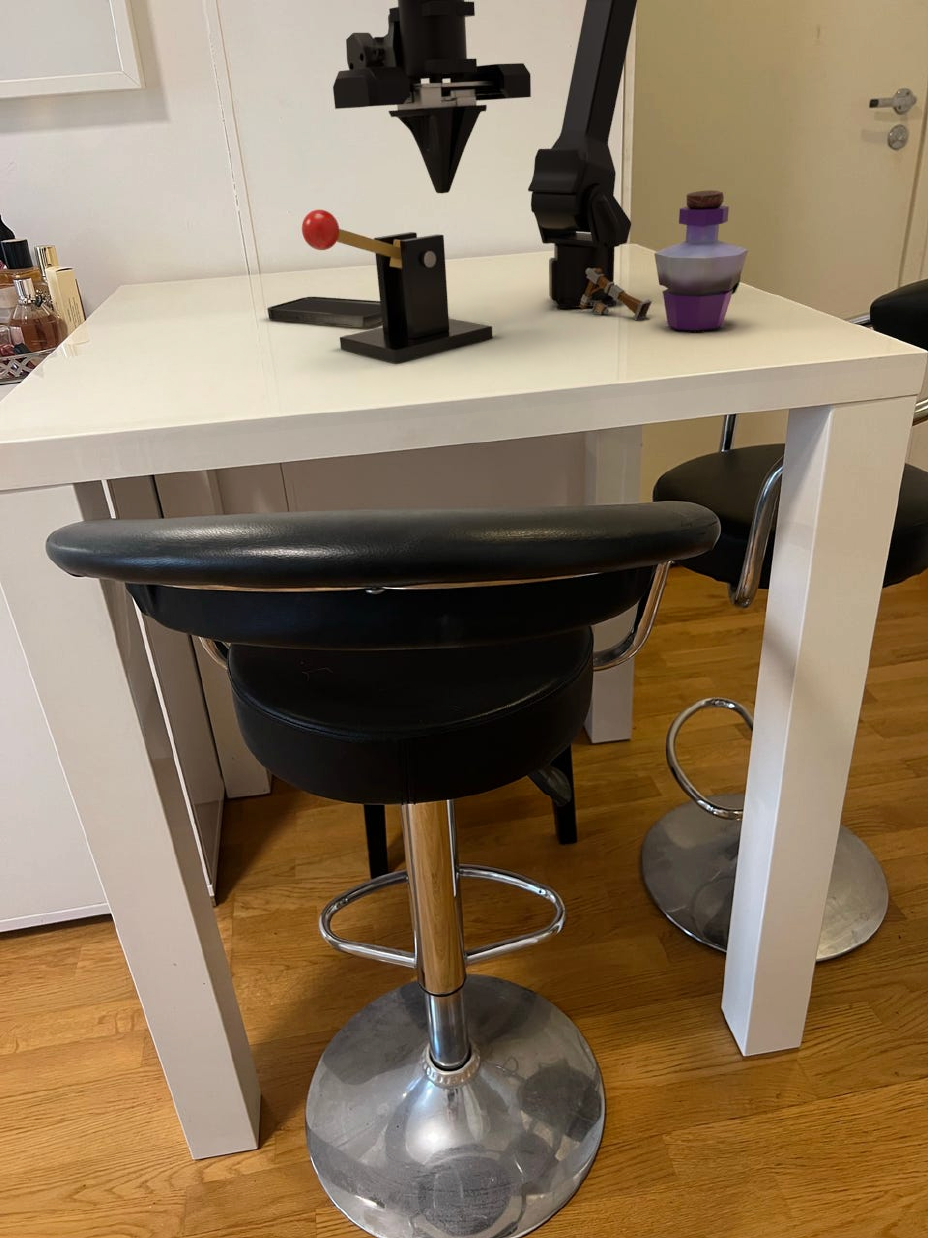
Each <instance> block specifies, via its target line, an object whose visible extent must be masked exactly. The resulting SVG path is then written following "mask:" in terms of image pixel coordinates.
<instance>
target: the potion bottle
mask: <svg viewBox="0 0 928 1238" xmlns="http://www.w3.org/2000/svg"><path fill="white" fill-rule="evenodd" d="M724 195H725V194H724V192H723V191H720V190H712V189H710V190H699V191H693V192H689V193H687V194H686V206H684V207H681V208H679V213H678V224H680V225H684V226H686V232H685V241H682V242H678V243H676V244H674V245H671V246H667V247H665V248H662V249H660V250H658V251H656V252H654V259H655V267H656V271H657V272H656V274H657V279H658V285H659V286H662V287H664V288H666V289H664V290H662V296H663V302H664V308H665V315H666V322H667V326H666V328H667V329H669V330H671V331H674V332H679V333H692V334H693V333H695V334H700V333H709V332H717V331H720V330H721V329H722V328H724V327H725V326H726V325H725V324H724V322H725V318H726V315H727V312H728V308H729V305H730V302H731V298H732V296H733V295H734V294H736V293H737V291H738V288H739V286H740V284H741V279H742V271H743V269H744V265H745V262H746V258H747V255H748V252H749V249H748V248H744V247H741V246H738V245H735V244H732V243H729V242H725V241H722V240H719V232H720V231H719V230H720V225H723V224H725V223H727V222H728V221H729V210H730V206H728V205H723V203H724V199H725V197H724Z"/></svg>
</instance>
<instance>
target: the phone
mask: <svg viewBox="0 0 928 1238" xmlns="http://www.w3.org/2000/svg"><path fill="white" fill-rule="evenodd" d="M266 310H267V315H268V319H269V320H271V321H272V320H273V321H285V322H293V323H294V322H295V323H304V324H305V323H306V324H317V325H318V324H319V325H327V326H339V327H351V328H371V327H375V326H377V325H380V324H381V325H382V316H381V306H380V300H368V299H353V298H341V297H340V298H339V297H338V298H337V297H325V296H305V297H300V298H296V299H293V300H290V301H287V302H283V303H278V304H276V305H272V306H269V307H267V308H266Z"/></svg>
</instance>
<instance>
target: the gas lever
mask: <svg viewBox="0 0 928 1238" xmlns="http://www.w3.org/2000/svg"><path fill="white" fill-rule="evenodd" d="M301 234H302V237H303V239H304V241H305V242H306V244H307V245H308V246H309V247H311V248H312V249H314V250H318V251H326V250H330V249H331V248H333V247H334V246H335V245H336V243H338V244H339V243H340V244H343V245H345V246H349V247H352V248H357V249H360V250H363V251H367V252H370V253H373V254H375V253H376V254H380V255H383V256H386V257H390V258H391V260H390V267H394V268H397V269H401V270H402V261H401V249H400V240H394V243H393V245H391V244H387V243H384V242H381V241H378V240H374V238H370V237H367V236H365V235H361V234H358V233H354V232H351V231H348V230H345V229H342V228H340V225H339V222H338V220H337V218H336V217H335V216H334V215H333V214H332V213H331V212H329V211H327V210H324V209H314V210H312V211H310V212H309V213H307V214H306V215H305V217H304V219H303V220H302V222H301Z"/></svg>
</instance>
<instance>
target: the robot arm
mask: <svg viewBox="0 0 928 1238" xmlns="http://www.w3.org/2000/svg"><path fill="white" fill-rule="evenodd" d="M637 3H638V0H586V1H585V5H584V6H585V7H584V11H583V17H582V22H581V27H580V33H579V37H578V43H577V46H576V47H577V48H576V52H575V58H574V63H573V68H572V73H571V79H570V84H569V89H568V94H567V100H566V105H565V110H564V115H563V120H562V126H561V131H560V133H559V136H558V138H557V139H556V140H555V142H554V144H553V145H552V146H551V148H538V150H537V152H536V155H535V157H534V164H533V165H534V166H533V175H532V179H531V182H530V184H529V186H528V188H527V191H528V192H531V198H530V211H531V212H532V213H533V215H534V217H535V220H536V223H537V227H538V231H539V235H540V239H541V242H542V244H546V245H548V244H553V256H554V257H549V259H548V289H549V292H548V293H549V294H548V295H549V298H550V300H551V301H553V302H554V304H555V306H556V308H558V309H569V308H580V307H579V305H580V303H581V299H582V296H583V294H585V292H586V289H587V287H588V285H589V282H590V279H589V278H587V274H586V270H587V269H588V268H591V269H594V268H596V269H598V268H600V269H601V270H602V272H601V273H602V274H603V275H604V276H603V277H605V278H606V279H607V280H609V281H610V282H614V279H615V251H616V250H615V249H616V247H617V248H618V247H620V246H621V245H625V244H627V243H628V239H629V236H630V232H631V228H632V221H631V220H630V218H629V217H628V215H627V214H626V212H625V211H624V209H623V208H622V206H621V204H620V203H619V202H618V200H617V199H616V197H615V196H614V195H615V193H614V192H615V185H616V177H617V173H616V168H615V165H614V161H613V158H612V154H611V150H610V146H609V139H610V133H611V129H612V124H613V118H614V115H615V114H614V113H615V110H616V105H617V100H618V95H619V89H620V85H621V81H622V77H623V76H622V75H623V72H624V66H625V62H626V57H627V51H628V47H629V41H630V38H631V33H632V27H633V23H634V18H635V13H636V8H637ZM388 10H389V11H388V12H389V14H388V15H387V23H388V29H387V34H385V35H384V36H374V37H373V36H372V34H371V33H370V32H352V33H351V34H350V35H349V36H348V37H347V38H346V39H345V43H346V44H345V47H346V63H347V67H348V69H346V70H339V71H338V72H337V75H336V78H335V80H334V82H333V86H332V91H333V103H334V109H335V110H339V109H340V110H341V109H356V108H357V109H359V108H369V107H382V106H383V107H384V106H396V109H395V110H388V114H389V116H390V118H397V119H399V121H400V122H402V124H404V126H405V127H406V128H407V130H409V132H410V133H411V135H412V137H413V139H414V141H415V143H416V145H417V148H418V149H419V152H420V155H421V157H422V160H423V163H424V165H425V168H426V170H427V173H428V175H429V179H430V180H431V183H432V186H433V188H434V192H435V193H437V194H447V193H449V192H450V191H451V188H452V185H453V183H454V180H455V177H456V174H457V171H458V168H459V165H460V162H461V160H462V157H463V153H464V151H465V149H466V147H467V144H468V142H469V139H470V137H471V134H472V132H473V130H474V128H475V125H476V123H477V120H478V118H479V116H480V114H481V113H483V112H487V110H488V109H487V108H488V105H487V104H477V102H478V101H492V100H493V101H494V100H508V99H509V100H510V99H521V98H522V99H523V98H531V97H532V87H531V85H532V84H531V83H532V82H531V79H532V78H531V72H530V71H529V69H528V68H527V67H526V65H525V64H524V62H519V63H517V62H516V63H514V62H513V63H493V64H484V65H483V64H482V65H478V64H477V61H478V60H477V58H468V51H467V48H468V47H467V31H466V29H467V28H466V18H470V17H475V16H476V12H475V11H476V10H475V1H465V0H397V6H395V7H390V8H388ZM426 79H427V80H428V82H427V83H422V80H426ZM443 80H449V82H444V81H443ZM614 283H615V282H614ZM598 287H600V285H598V284H596V285H595V287H594V289H596V288H598ZM604 291H605V290H604V289H603V288H601V289H599V290H597V291H595V292H593V294H592V295H591V296H592V297H591V299H590V300H595V302H596V301H599V300H602V301H601V303H603V304H604V305H608V306H615V305H617V300H615V298H613V297H612V296H610V295H608V294H609V293H606V292H604ZM590 305H591V304H590V302H588V305H587V306H586V308H587V307H588V308H589V307H593V305H592V306H590Z"/></svg>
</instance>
